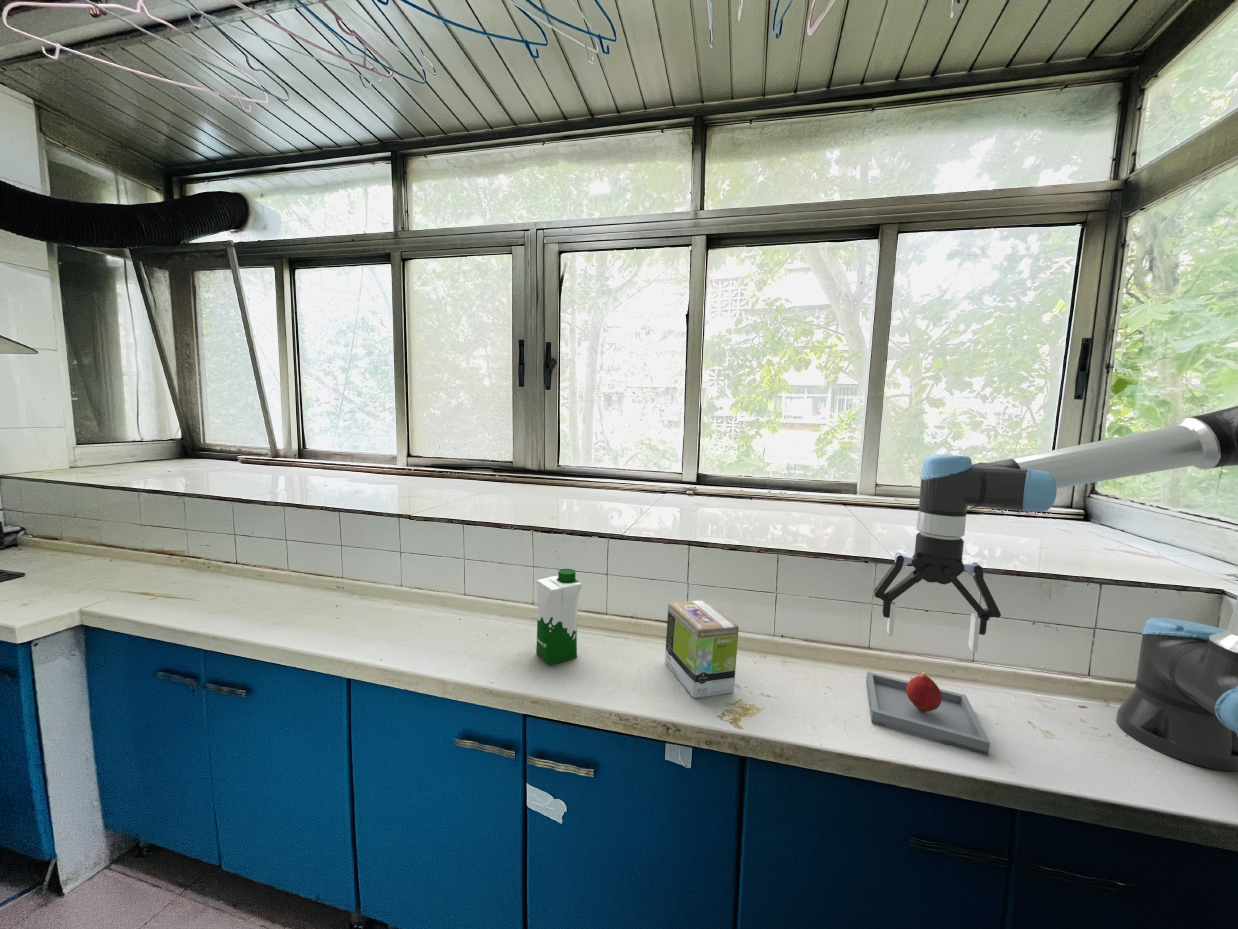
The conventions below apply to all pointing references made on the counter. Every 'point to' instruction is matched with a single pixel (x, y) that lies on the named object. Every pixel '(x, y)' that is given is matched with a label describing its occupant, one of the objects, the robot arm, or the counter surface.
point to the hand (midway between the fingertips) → (929, 641)
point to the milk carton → (557, 617)
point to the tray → (925, 715)
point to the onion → (924, 693)
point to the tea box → (701, 648)
